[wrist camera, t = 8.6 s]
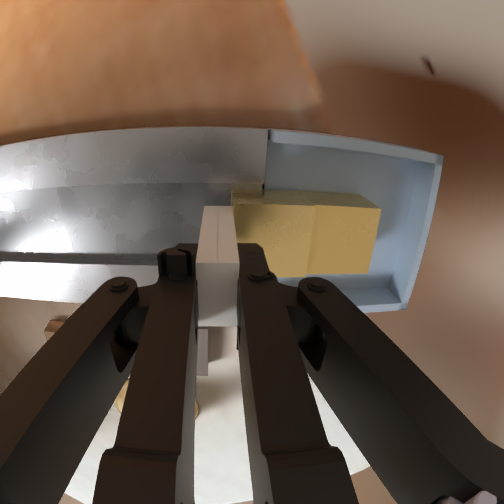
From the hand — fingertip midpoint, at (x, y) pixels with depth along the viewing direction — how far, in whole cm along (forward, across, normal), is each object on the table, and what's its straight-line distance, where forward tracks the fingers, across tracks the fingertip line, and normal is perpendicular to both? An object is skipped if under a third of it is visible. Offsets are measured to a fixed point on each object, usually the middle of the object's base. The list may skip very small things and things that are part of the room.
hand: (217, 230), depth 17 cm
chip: (+2, +7, 0) cm, 7 cm away
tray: (+3, +8, 0) cm, 8 cm away
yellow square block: (+2, +3, 0) cm, 3 cm away
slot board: (+3, -9, 0) cm, 9 cm away
